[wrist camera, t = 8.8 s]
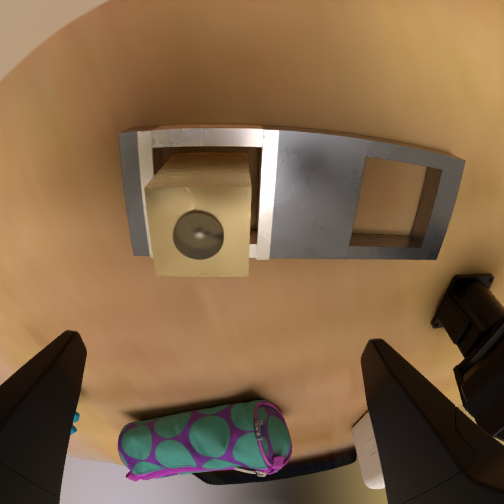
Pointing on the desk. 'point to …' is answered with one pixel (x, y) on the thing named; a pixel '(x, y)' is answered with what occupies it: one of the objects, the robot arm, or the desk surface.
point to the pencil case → (207, 442)
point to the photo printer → (368, 453)
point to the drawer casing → (302, 189)
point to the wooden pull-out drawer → (200, 215)
